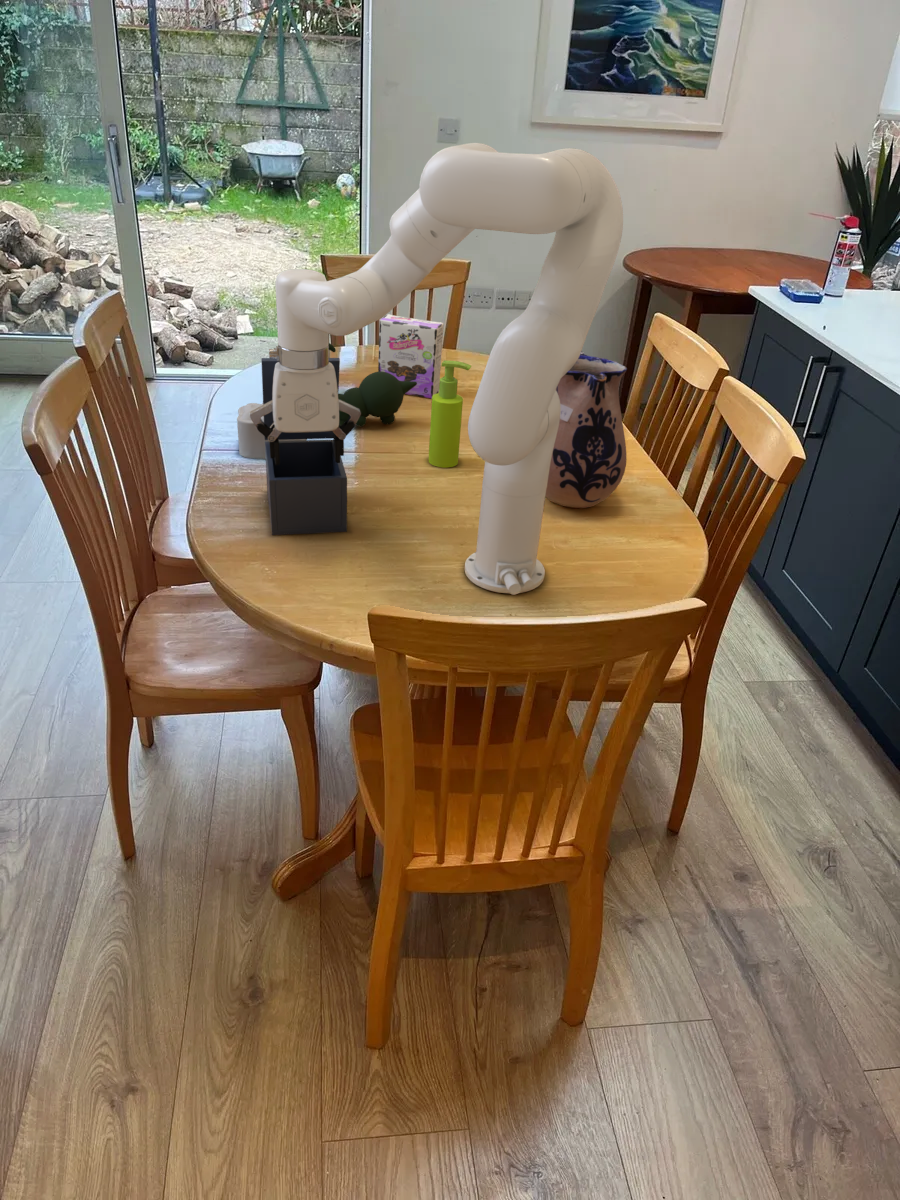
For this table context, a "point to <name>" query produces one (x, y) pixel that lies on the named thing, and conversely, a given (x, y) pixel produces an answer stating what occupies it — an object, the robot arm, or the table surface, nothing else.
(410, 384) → the toy figurine
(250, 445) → the lumpy-topped squat cylinder
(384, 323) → the candy box
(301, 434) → the lid
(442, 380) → the soap dispenser
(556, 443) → the ceramic pitcher
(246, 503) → the table surface
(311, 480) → the chest
